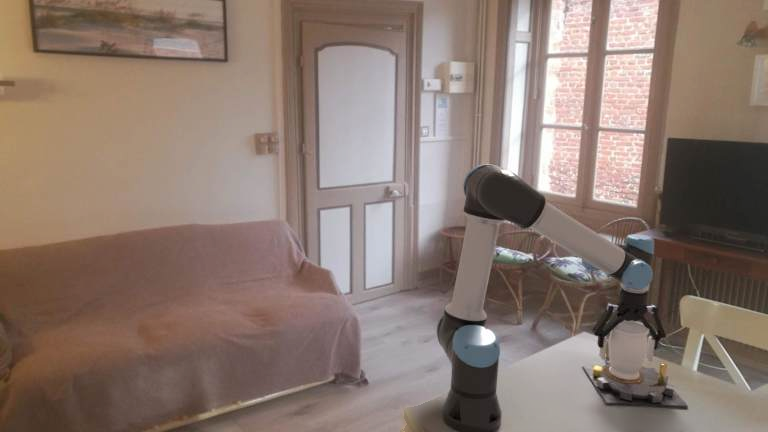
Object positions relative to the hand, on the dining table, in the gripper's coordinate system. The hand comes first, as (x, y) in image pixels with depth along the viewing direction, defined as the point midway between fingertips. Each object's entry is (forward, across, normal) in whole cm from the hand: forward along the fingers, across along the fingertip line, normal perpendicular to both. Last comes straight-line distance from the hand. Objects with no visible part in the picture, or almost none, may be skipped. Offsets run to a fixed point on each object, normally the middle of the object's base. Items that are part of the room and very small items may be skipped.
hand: (625, 358), depth 173 cm
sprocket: (+7, +2, -1) cm, 8 cm away
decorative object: (+8, +5, +17) cm, 19 cm away
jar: (+5, 0, 0) cm, 5 cm away
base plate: (+8, +2, -1) cm, 9 cm away
